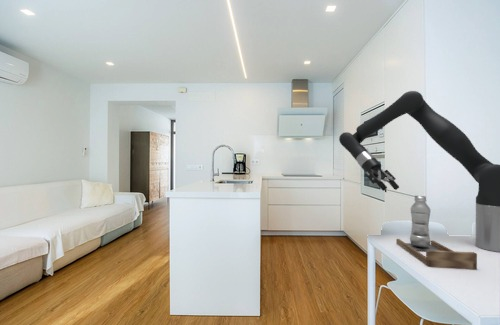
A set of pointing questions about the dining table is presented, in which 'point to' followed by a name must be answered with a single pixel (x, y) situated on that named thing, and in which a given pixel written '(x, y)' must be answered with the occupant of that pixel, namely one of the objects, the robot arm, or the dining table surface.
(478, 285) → the dining table surface
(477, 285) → the dining table surface
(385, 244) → the dining table surface
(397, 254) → the dining table surface
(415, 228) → the plastic bottle
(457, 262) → the wooden tray frame
